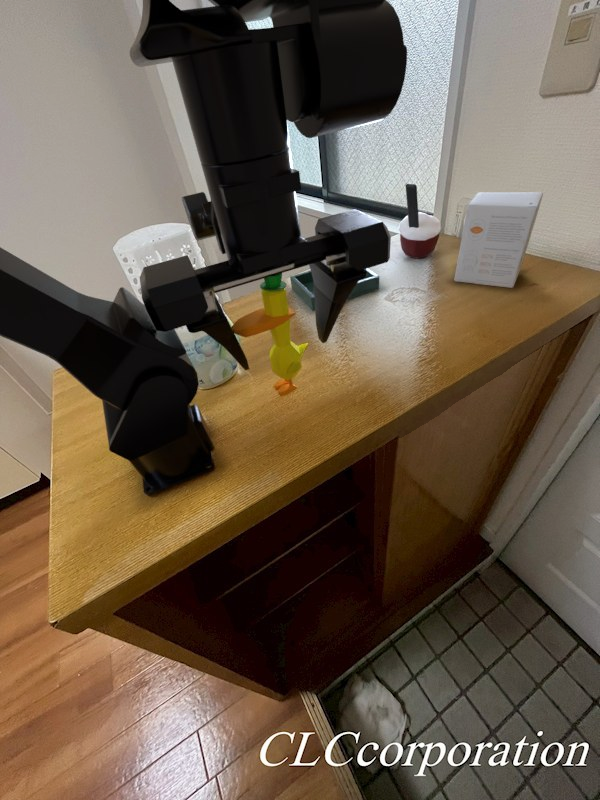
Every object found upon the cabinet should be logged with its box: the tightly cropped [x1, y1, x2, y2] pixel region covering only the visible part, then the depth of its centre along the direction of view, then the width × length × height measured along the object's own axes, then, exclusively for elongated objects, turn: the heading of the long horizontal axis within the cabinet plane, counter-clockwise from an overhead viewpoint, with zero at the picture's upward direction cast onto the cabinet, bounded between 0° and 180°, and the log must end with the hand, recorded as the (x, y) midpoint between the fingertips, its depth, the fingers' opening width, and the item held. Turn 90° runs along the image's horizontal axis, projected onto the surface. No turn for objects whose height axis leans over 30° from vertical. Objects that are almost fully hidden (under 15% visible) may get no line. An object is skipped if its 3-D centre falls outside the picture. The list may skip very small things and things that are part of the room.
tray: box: [289, 268, 380, 312], centre depth 54 cm, size 11×9×2 cm
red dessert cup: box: [398, 183, 442, 259], centre depth 55 cm, size 10×6×12 cm, turn 119°
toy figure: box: [231, 273, 309, 397], centre depth 31 cm, size 7×4×12 cm, turn 118°
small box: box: [454, 191, 544, 289], centre depth 47 cm, size 8×6×10 cm
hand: (285, 353), depth 32 cm, fingers closed on toy figure, 7 cm apart
